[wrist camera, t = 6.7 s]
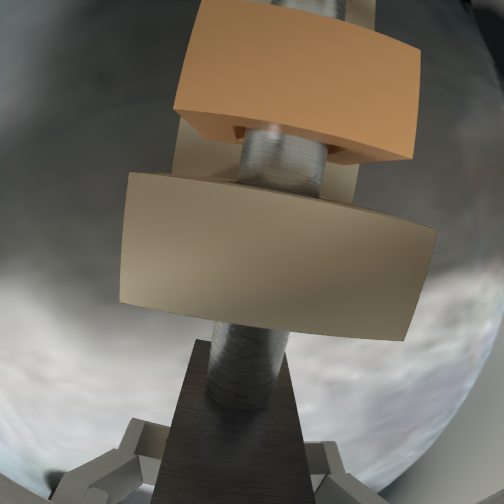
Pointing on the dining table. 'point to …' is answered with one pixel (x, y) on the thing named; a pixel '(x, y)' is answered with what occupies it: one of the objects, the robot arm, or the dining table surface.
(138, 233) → the shaft stand
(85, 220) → the dining table surface
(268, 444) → the shaft
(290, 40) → the spacer
